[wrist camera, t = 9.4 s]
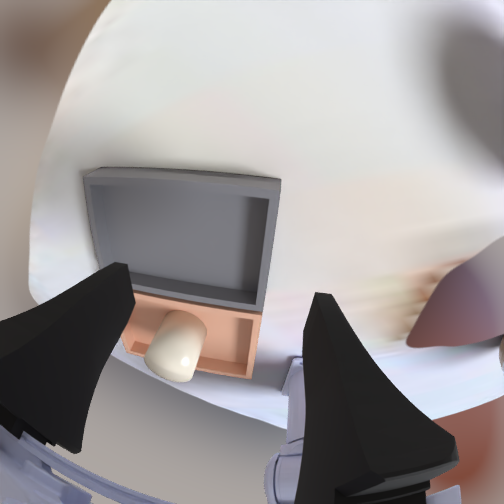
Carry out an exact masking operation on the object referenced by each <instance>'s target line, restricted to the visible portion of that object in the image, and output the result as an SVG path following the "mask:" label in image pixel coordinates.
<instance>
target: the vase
mask: <svg viewBox="0 0 504 504" xmlns="http://www.w3.org/2000/svg"><path fill="white" fill-rule="evenodd" d="M499 359H500V363H501V367H502V370H503V373H504V336H503V338H502V340H501V343H500V348H499Z"/></svg>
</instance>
